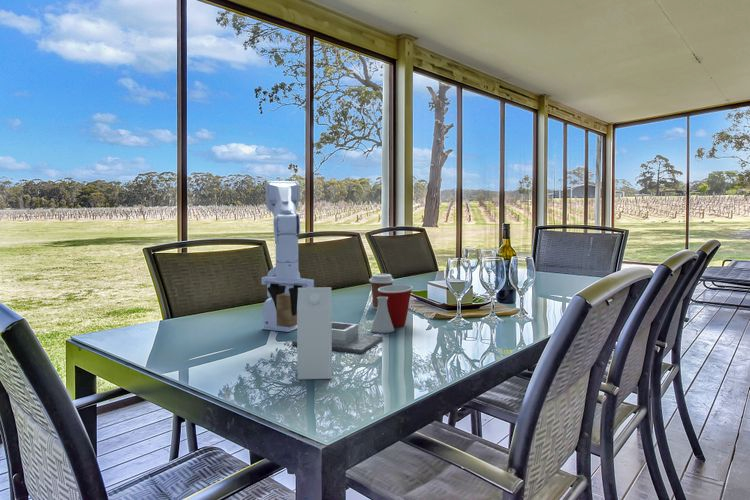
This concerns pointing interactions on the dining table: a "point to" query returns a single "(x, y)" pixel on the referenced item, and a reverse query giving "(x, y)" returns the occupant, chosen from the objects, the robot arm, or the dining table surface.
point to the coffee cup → (379, 285)
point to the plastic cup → (397, 302)
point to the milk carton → (314, 333)
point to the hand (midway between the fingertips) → (287, 313)
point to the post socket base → (350, 338)
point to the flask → (382, 318)
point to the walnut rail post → (285, 311)
